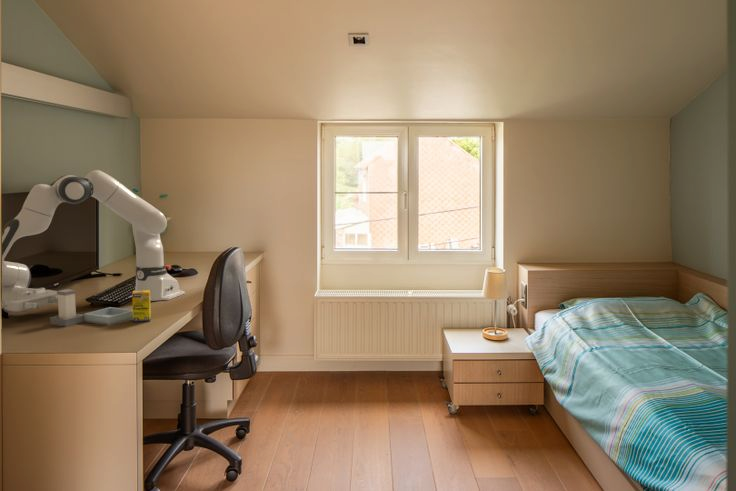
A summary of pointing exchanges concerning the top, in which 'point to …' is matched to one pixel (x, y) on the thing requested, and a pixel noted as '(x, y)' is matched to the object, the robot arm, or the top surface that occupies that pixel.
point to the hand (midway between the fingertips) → (48, 303)
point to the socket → (67, 320)
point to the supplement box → (141, 306)
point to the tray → (108, 316)
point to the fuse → (66, 303)
